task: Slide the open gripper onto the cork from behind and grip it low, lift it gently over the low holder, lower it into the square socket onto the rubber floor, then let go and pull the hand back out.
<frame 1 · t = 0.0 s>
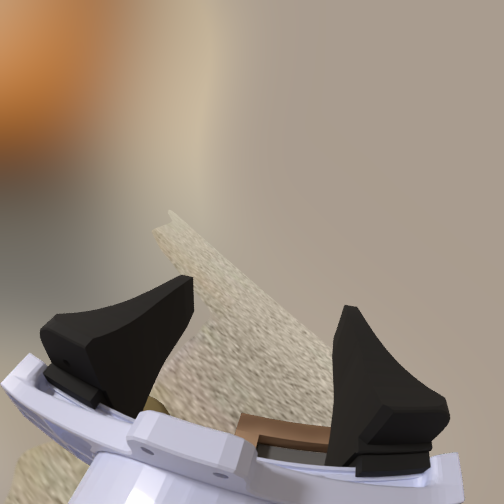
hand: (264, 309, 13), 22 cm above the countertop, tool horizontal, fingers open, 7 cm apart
holder: (296, 486, 21), on the countertop
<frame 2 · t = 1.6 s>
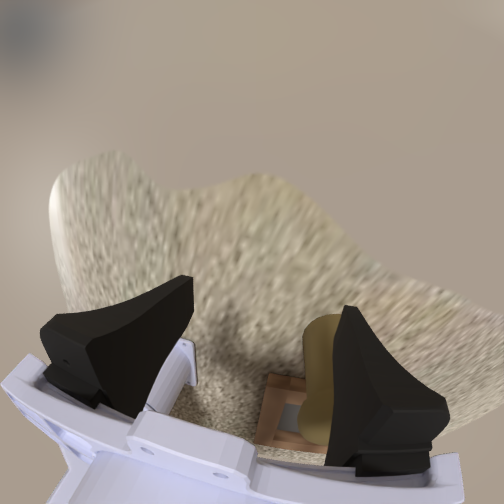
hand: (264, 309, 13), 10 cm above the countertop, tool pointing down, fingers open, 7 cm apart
holder: (318, 416, 31), on the countertop
cork: (333, 337, 26), on the countertop
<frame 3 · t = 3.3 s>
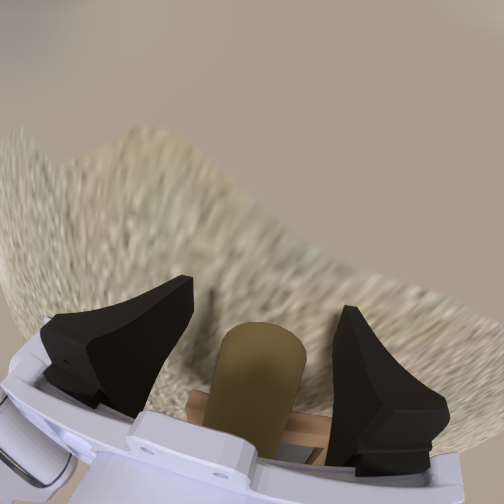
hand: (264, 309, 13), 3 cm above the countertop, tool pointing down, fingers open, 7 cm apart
holder: (266, 444, 25), on the countertop
cork: (263, 353, 19), on the countertop
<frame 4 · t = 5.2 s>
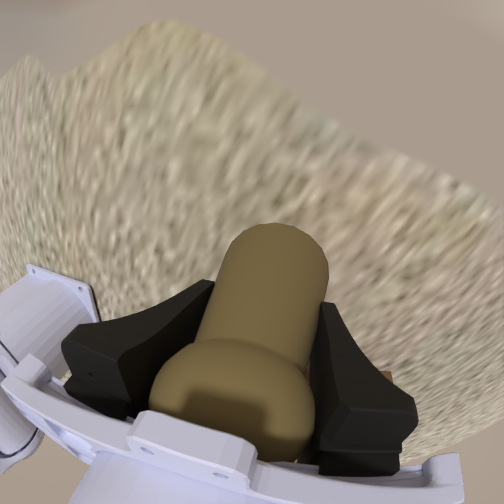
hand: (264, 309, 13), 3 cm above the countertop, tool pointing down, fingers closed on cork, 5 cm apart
cork: (275, 272, 16), on the countertop, touching gripper
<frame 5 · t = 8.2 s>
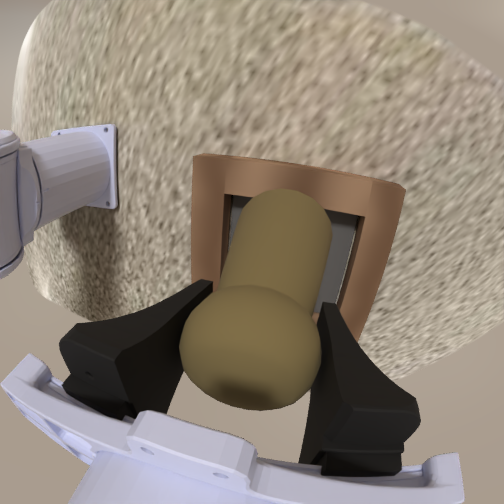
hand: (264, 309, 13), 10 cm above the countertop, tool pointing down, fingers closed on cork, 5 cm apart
holder: (287, 256, 23), on the countertop
cork: (284, 233, 18), point 4 cm above the countertop, touching gripper
when the fingers open (5 cm above the countertop, at t = 10.5 s): cork stays where it is, resting on holder.
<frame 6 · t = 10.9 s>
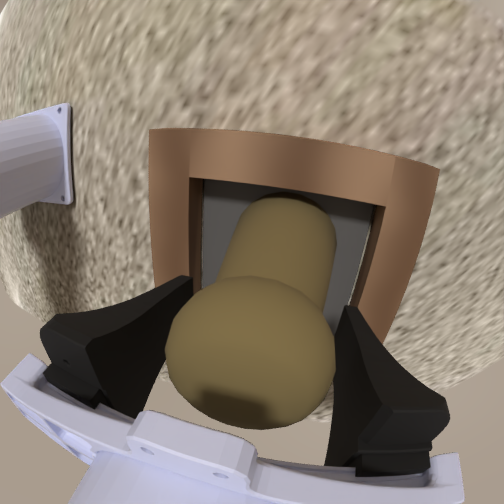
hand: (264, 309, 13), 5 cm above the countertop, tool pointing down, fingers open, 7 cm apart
holder: (278, 262, 17), on the countertop
cork: (285, 241, 17), resting on holder
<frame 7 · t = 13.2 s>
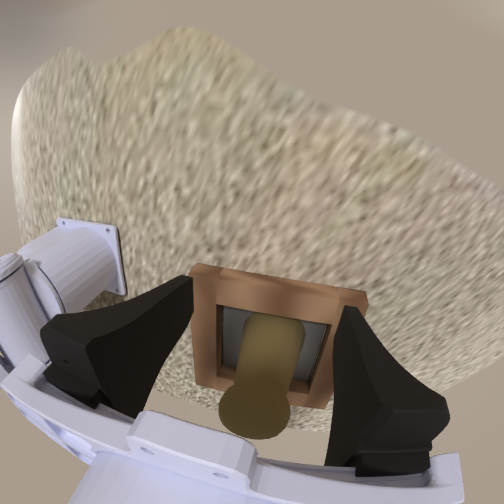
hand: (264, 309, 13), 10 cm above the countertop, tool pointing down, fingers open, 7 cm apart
holder: (270, 341, 27), on the countertop
cork: (274, 331, 27), resting on holder
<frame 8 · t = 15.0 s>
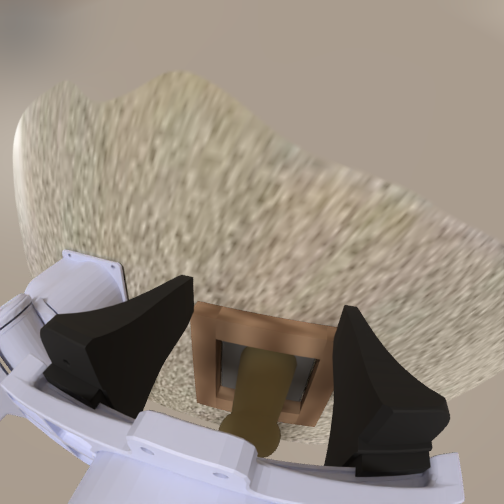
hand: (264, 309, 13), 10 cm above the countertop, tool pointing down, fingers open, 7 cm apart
holder: (265, 369, 29), on the countertop
cork: (268, 360, 29), resting on holder
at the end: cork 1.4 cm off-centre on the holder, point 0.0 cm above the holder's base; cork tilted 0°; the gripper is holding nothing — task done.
